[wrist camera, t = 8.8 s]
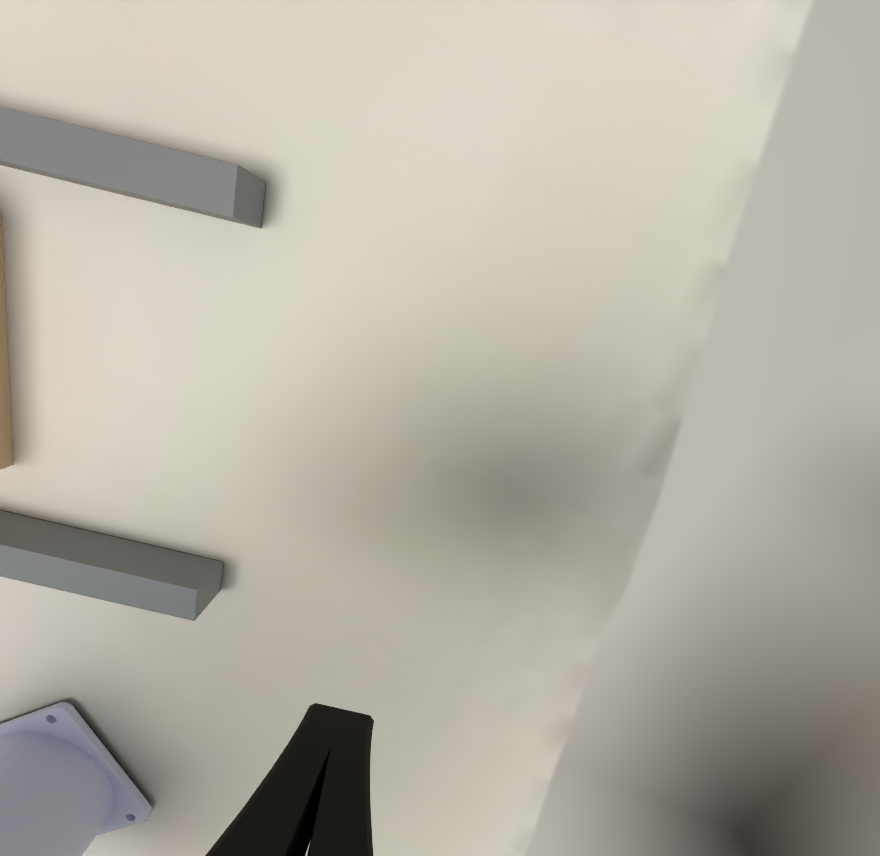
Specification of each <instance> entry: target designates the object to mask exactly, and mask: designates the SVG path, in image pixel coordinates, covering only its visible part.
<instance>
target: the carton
mask: <svg viewBox="0 0 880 856" xmlns="http://www.w3.org/2000/svg"><path fill="white" fill-rule="evenodd" d="M11 465H13V444H12V423H11V402H10V381H9V360H8V339H7V318H6V297H5V276H4V255H3V234H2V215H1V214H0V469H3V468H6V467H8V466H11Z"/></svg>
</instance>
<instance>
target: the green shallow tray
mask: <svg viewBox="0 0 880 856" xmlns="http://www.w3.org/2000/svg"><path fill="white" fill-rule="evenodd" d="M0 165H3V166H7V167H11V168H15V169H20V170H24V171H28V172H32V173H36V174H40V175H44V176H48V177H52V178H56V179H61V180H65V181H69V182H73V183H77V184H81V185H85V186H89V187H93V188H98V189H102V190H106V191H110V192H114V193H118V194H122V195H126V196H130V197H134V198H139V199H143V200H147V201H151V202H155V203H159V204H163V205H167V206H171V207H175V208H180V209H184V210H188V211H192V212H196V213H200V214H204V215H208V216H212V217H217V218H221V219H225V220H229V221H233V222H237V223H241V224H245V225H249V226H253V227H258V228H261V222H262V213H263V204H264V195H265V186H266V183H265V182H264V181H262V180H261V179H259V178H257V177H256V176H254V175H253V174H251V173H250V172H248V171H247V170H245V169H243V168H242V167H240V166H239V165H237V164H232V163H228V162H224V161H220V160H216V159H212V158H208V157H204V156H200V155H196V154H192V153H188V152H184V151H180V150H175V149H171V148H167V147H163V146H159V145H155V144H151V143H147V142H143V141H139V140H135V139H131V138H127V137H123V136H118V135H114V134H110V133H106V132H102V131H98V130H94V129H90V128H86V127H82V126H78V125H74V124H70V123H66V122H61V121H57V120H53V119H49V118H45V117H41V116H37V115H33V114H29V113H25V112H21V111H17V110H13V109H9V108H4V107H0ZM222 571H223V562H221V561H216V560H212V559H208V558H203V557H199V556H195V555H190V554H186V553H182V552H177V551H173V550H169V549H165V548H160V547H156V546H152V545H147V544H143V543H139V542H134V541H130V540H126V539H122V538H117V537H113V536H109V535H104V534H100V533H96V532H91V531H87V530H83V529H78V528H74V527H70V526H66V525H61V524H57V523H53V522H48V521H44V520H40V519H35V518H31V517H27V516H22V515H18V514H14V513H10V512H5V511H1V510H0V576H2V577H6V578H10V579H15V580H19V581H23V582H28V583H32V584H36V585H41V586H45V587H49V588H54V589H58V590H62V591H67V592H71V593H76V594H80V595H84V596H89V597H93V598H97V599H102V600H106V601H110V602H115V603H119V604H123V605H128V606H132V607H136V608H141V609H145V610H149V611H154V612H158V613H162V614H167V615H171V616H175V617H180V618H184V619H189V620H193V621H195V619H196V618H197V617H198V616H199V615H200V614H201V612H202V611H203V610H204V609H205V608H206V607H207V605H208V604H209V603H210V602H211V601H212V600H213V598H214V597H215V596H216V595H217V594H218V593H219V591H220V588H221V579H222Z"/></svg>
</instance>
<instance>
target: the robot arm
mask: <svg viewBox="0 0 880 856" xmlns="http://www.w3.org/2000/svg"><path fill="white" fill-rule="evenodd" d="M373 723H374V720H373V719H372V718H371V716H370V715H365V714H361V713H356V712H352V711H348V710H343V709H339V708H335V707H330V706H326V705H321V704H317V703H315V704H313V705H311V706H310V707H309V708H308V710H307V712H306V714H305V716H304V718H303V720H302V722H301V723H300V725H299V727H298V728H297V730H296V732H295V733H294V735H293V737H292V738H291V740H290V742H289V743H288V745H287V746H286V748H285V749H284V751H283V752H282V754H281V755H280V757H279V758H278V760H277V761H276V763H275V764H274V766H273V767H272V769H271V770H270V771H269V773H268V774H267V776H266V777H265V778H264V780H263V781H262V783H261V784H260V785H259V787H258V788H257V789H256V791H255V792H254V794H253V795H252V796H251V798H250V799H249V801H248V802H247V803H246V805H245V806H244V807H243V809H242V810H241V811H240V813H239V814H238V815H237V817H236V818H235V819H234V820H233V822H232V823H231V824H230V825H229V827H228V828H227V829H226V830H225V832H224V833H223V834H222V835H221V837H220V838H219V839H218V841H217V842H216V843H215V844H214V846H213V847H212V848H211V849H210V851H209V852H208V853H207V854H206V856H305V854H306V851H307V848H308V845H309V843H310V846H309V850H308V855H307V856H373V847H372V828H371V810H370V751H371V738H372V729H373ZM151 812H152V807H151V805H150V804H149V802H148V801H147V800H146V799H145V797H144V796H143V795H142V793H141V792H140V791H139V790H138V788H137V787H136V786H135V785H134V783H133V782H132V781H131V779H130V778H129V777H128V776H127V774H126V773H125V772H124V771H123V769H122V768H121V767H120V765H119V764H118V763H117V762H116V760H115V759H114V758H113V757H112V755H111V754H110V753H109V751H108V750H107V749H106V748H105V746H104V745H103V744H102V742H101V741H100V740H99V739H98V737H97V736H96V735H95V734H94V732H93V731H92V730H91V728H90V727H89V726H88V725H87V723H86V722H85V721H84V720H83V718H82V717H81V716H80V714H79V713H78V712H77V711H76V709H75V708H74V707H73V706H72V705H71V704H69V703H66V702H60V703H57V704H54V705H52V706H49V707H46V708H43V709H40V710H38V711H35V712H32V713H29V714H27V715H24V716H21V717H18V718H16V719H13V720H10V721H7V722H4V723H2V724H0V856H82V855H83V854H84V852H85V851H86V849H87V848H88V846H89V845H90V843H91V842H92V841H93V839H94V838H95V836H96V835H98V834H102V833H105V832H108V831H112V830H115V829H118V828H122V827H125V826H128V825H132V824H135V823H139V822H142V821H145V820H146V819H147V818H148V817H149V815H150V813H151ZM310 840H311V841H310Z"/></svg>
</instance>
